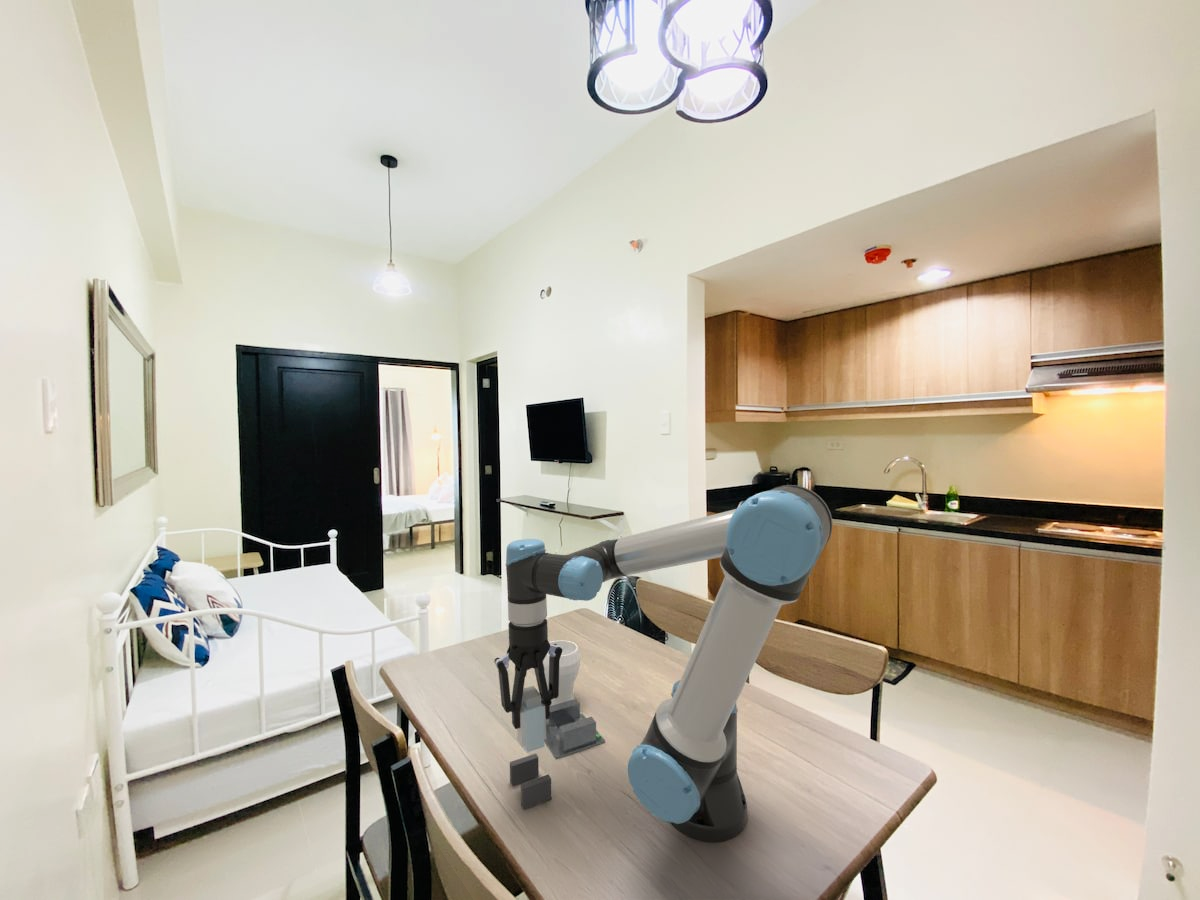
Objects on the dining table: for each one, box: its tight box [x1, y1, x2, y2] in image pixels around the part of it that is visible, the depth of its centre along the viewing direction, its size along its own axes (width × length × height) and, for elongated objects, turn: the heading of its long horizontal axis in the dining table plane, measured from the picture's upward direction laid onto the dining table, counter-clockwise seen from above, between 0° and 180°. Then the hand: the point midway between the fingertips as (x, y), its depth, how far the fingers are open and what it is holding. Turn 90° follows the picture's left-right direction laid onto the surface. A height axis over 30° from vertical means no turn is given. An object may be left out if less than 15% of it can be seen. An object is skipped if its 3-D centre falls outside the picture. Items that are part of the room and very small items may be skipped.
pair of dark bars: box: [509, 753, 553, 811], centre depth 94 cm, size 8×6×4 cm, turn 28°
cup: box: [543, 640, 581, 706], centre depth 124 cm, size 11×11×15 cm
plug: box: [521, 685, 545, 753], centre depth 94 cm, size 5×4×10 cm
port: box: [544, 698, 606, 760], centre depth 111 cm, size 12×12×5 cm
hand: (531, 738), depth 94 cm, fingers closed on plug, 3 cm apart
